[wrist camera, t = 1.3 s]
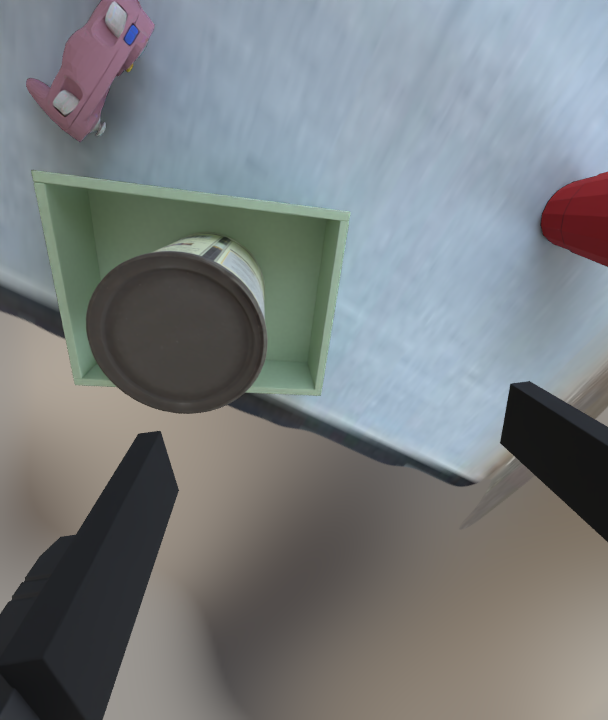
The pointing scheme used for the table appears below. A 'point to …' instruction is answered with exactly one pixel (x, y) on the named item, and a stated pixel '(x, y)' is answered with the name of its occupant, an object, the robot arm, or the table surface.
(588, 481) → the robot arm
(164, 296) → the coffee can
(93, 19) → the video game controller
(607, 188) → the plastic cup
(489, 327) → the table surface
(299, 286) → the bin
